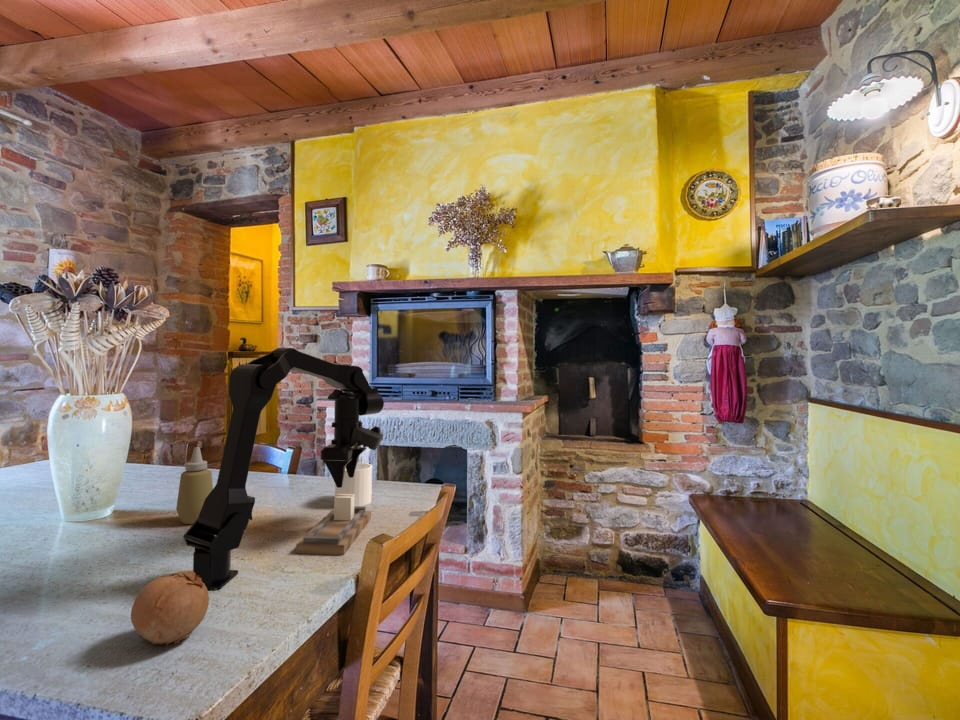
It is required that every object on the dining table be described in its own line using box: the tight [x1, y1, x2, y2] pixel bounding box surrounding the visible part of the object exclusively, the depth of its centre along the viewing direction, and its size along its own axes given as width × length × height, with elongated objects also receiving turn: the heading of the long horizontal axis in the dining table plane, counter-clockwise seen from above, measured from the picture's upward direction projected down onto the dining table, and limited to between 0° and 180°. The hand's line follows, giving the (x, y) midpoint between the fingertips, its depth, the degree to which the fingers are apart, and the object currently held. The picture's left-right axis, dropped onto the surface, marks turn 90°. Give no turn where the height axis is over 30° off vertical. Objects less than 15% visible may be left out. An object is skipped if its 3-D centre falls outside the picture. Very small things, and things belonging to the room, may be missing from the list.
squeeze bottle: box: [175, 446, 214, 525], centre depth 116 cm, size 8×8×18 cm
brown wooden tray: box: [295, 506, 372, 556], centre depth 110 cm, size 22×10×3 cm, turn 179°
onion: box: [130, 570, 210, 646], centre depth 69 cm, size 10×9×10 cm
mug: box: [334, 462, 373, 507], centre depth 135 cm, size 13×10×10 cm
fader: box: [333, 494, 355, 521], centre depth 114 cm, size 3×4×6 cm
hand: (345, 482), depth 115 cm, fingers open, 9 cm apart
